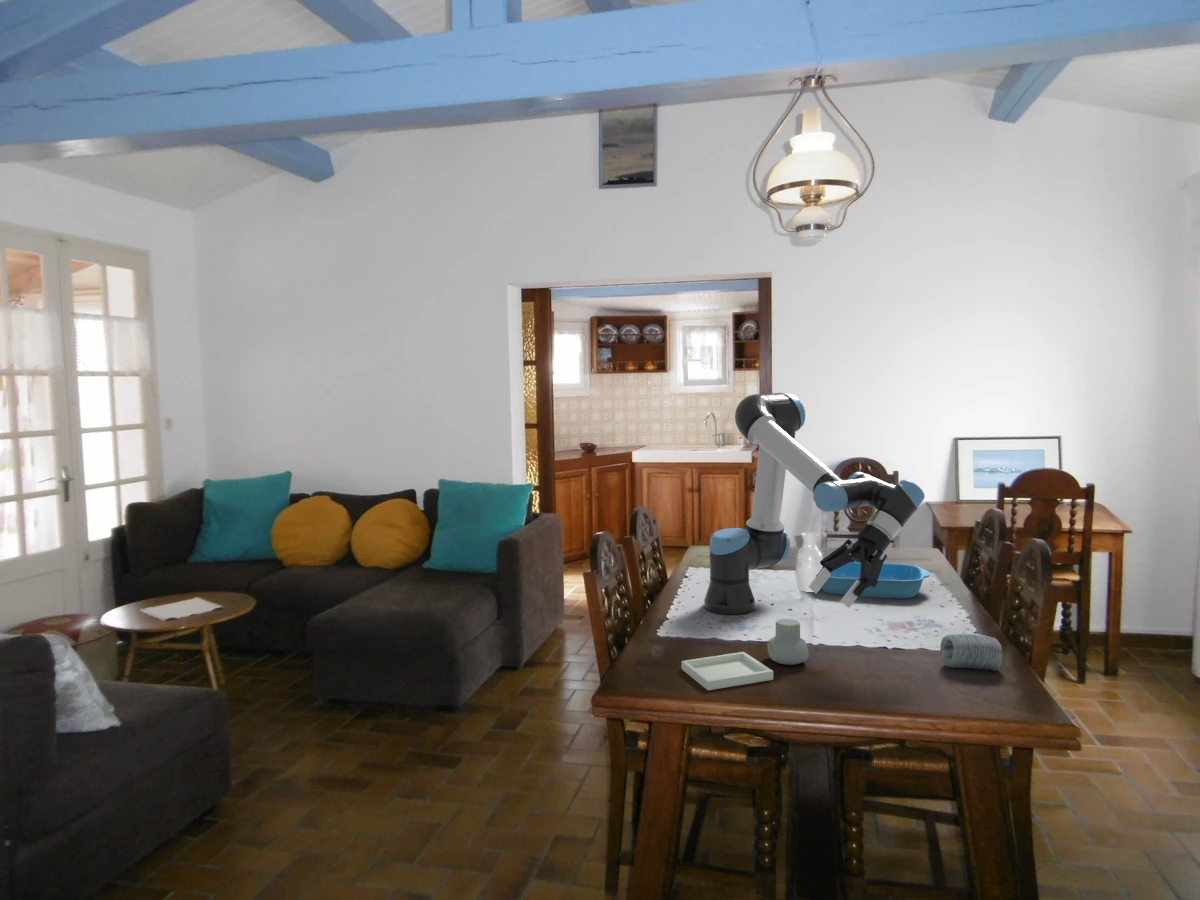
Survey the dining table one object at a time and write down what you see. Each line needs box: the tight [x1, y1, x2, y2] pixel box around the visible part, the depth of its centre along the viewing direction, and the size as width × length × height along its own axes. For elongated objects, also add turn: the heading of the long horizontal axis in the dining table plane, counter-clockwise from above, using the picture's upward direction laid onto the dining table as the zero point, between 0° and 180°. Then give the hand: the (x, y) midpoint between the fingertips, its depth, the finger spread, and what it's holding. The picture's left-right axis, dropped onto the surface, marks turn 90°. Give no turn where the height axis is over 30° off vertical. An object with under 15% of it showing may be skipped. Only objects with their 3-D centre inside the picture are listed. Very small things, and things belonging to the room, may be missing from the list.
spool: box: [940, 633, 1003, 671], centre depth 197 cm, size 14×10×10 cm
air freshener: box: [766, 618, 810, 666], centre depth 204 cm, size 11×8×10 cm
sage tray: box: [681, 651, 774, 691], centre depth 196 cm, size 14×17×2 cm
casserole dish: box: [820, 562, 931, 599], centre depth 265 cm, size 37×22×7 cm, turn 73°
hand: (828, 597), depth 206 cm, fingers open, 13 cm apart
